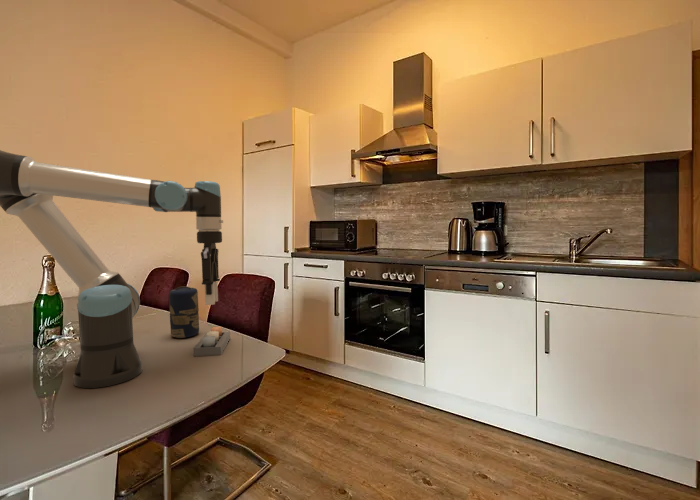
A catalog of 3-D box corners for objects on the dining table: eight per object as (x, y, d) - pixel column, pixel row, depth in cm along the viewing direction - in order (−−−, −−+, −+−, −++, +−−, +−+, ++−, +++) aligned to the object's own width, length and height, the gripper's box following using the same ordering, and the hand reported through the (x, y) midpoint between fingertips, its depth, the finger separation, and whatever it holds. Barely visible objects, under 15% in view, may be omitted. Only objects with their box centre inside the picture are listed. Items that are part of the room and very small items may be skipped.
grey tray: (220, 354, 113) (220, 346, 112) (193, 356, 111) (193, 348, 111) (230, 339, 128) (230, 331, 128) (206, 340, 127) (206, 333, 127)
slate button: (213, 347, 113) (213, 339, 113) (201, 347, 112) (201, 339, 112) (216, 343, 116) (216, 335, 116) (204, 344, 116) (204, 336, 116)
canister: (192, 339, 128) (190, 288, 127) (165, 339, 128) (163, 288, 127) (203, 331, 138) (202, 284, 136) (178, 331, 138) (176, 284, 137)
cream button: (217, 341, 118) (217, 333, 118) (205, 342, 118) (205, 334, 118) (219, 338, 122) (219, 330, 122) (208, 338, 121) (208, 331, 121)
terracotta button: (221, 336, 124) (220, 329, 124) (209, 337, 123) (209, 329, 123) (223, 333, 127) (223, 326, 127) (212, 333, 127) (212, 326, 127)
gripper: (215, 230, 109) (218, 308, 111) (226, 230, 126) (228, 297, 128) (189, 231, 108) (192, 309, 110) (203, 230, 125) (206, 298, 127)
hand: (211, 302), depth 119 cm, fingers open, 4 cm apart
